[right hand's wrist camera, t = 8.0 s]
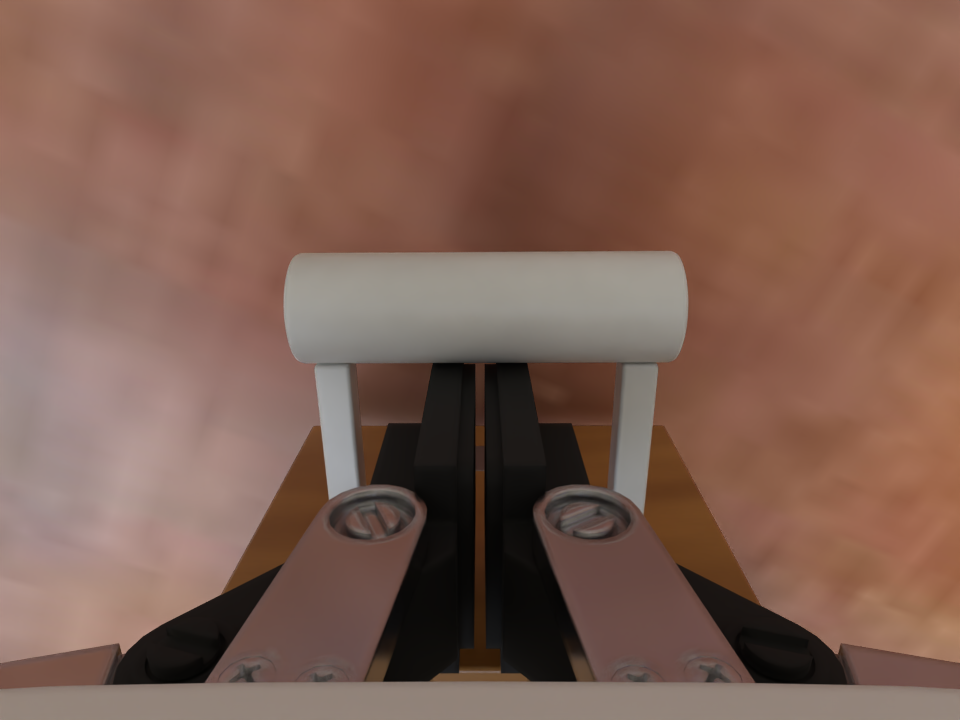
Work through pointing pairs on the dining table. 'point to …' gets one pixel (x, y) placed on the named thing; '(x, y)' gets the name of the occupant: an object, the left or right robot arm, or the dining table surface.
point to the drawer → (492, 339)
